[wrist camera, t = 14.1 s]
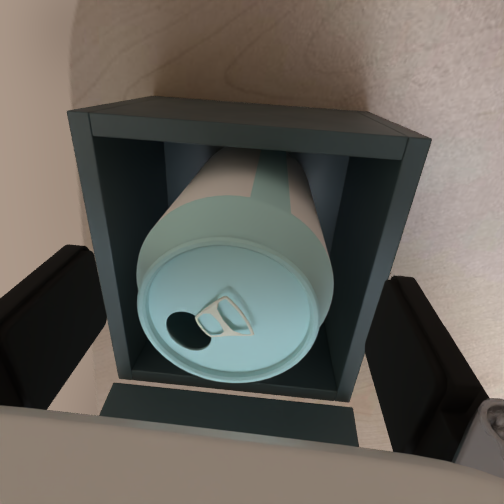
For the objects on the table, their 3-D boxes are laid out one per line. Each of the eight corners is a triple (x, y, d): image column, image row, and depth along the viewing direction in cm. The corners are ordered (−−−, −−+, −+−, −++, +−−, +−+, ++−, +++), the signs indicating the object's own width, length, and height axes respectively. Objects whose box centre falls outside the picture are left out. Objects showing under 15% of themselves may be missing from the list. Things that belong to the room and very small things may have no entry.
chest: (151, 95, 19) (65, 110, 11) (369, 111, 19) (433, 138, 11) (166, 287, 26) (118, 378, 18) (328, 302, 25) (349, 403, 17)
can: (279, 260, 23) (279, 420, 12) (184, 221, 22) (96, 356, 11) (330, 168, 20) (390, 278, 9) (221, 117, 19) (146, 174, 8)
